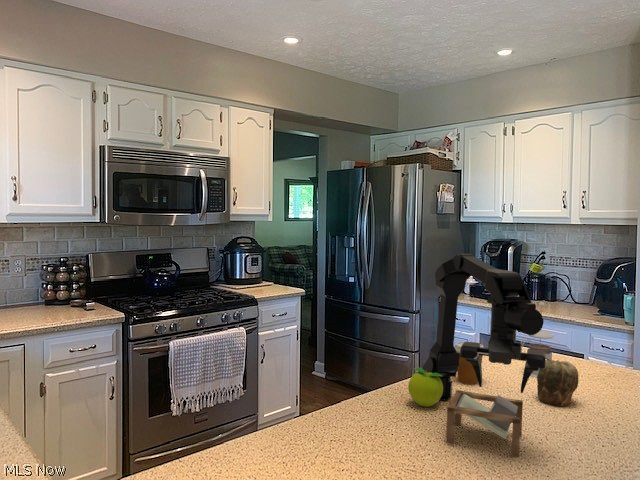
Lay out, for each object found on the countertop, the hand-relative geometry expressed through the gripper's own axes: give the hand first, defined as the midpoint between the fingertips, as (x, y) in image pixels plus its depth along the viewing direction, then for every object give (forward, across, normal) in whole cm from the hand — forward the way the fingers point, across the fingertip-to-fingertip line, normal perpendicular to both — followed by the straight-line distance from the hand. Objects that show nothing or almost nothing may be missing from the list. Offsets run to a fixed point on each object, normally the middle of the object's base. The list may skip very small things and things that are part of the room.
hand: (500, 389), depth 120 cm
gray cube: (+8, 0, 0) cm, 8 cm away
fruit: (+13, -21, +14) cm, 29 cm away
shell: (+13, +13, +36) cm, 40 cm away
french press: (+13, +7, +60) cm, 62 cm away
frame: (+12, -3, 0) cm, 13 cm away
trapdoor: (+7, -4, 0) cm, 8 cm away
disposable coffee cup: (+13, -13, +42) cm, 45 cm away
